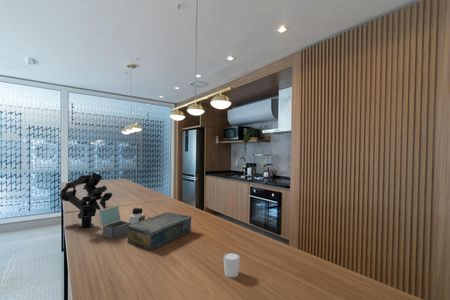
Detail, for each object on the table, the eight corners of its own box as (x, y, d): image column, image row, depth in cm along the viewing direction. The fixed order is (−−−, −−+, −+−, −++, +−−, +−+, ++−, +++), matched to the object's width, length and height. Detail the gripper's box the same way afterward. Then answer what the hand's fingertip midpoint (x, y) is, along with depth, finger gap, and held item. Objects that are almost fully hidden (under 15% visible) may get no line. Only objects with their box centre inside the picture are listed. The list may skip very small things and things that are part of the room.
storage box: (102, 236, 128) (103, 226, 128) (120, 230, 138) (120, 220, 139) (112, 239, 124) (113, 228, 124) (130, 232, 134) (130, 222, 135)
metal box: (192, 232, 137) (192, 216, 137) (152, 251, 109) (152, 231, 109) (168, 226, 148) (168, 211, 148) (125, 242, 120) (125, 224, 120)
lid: (102, 225, 128) (101, 226, 128) (120, 220, 139) (119, 220, 139) (99, 210, 129) (99, 210, 130) (118, 206, 140) (117, 206, 141)
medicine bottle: (138, 228, 143) (139, 209, 143) (129, 227, 144) (129, 209, 144) (144, 224, 150) (145, 207, 150) (135, 223, 151) (135, 206, 151)
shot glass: (222, 269, 92) (222, 252, 92) (238, 268, 93) (238, 252, 93) (224, 278, 86) (224, 260, 86) (241, 277, 86) (241, 260, 86)
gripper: (82, 183, 132) (93, 204, 127) (110, 180, 149) (121, 198, 143) (75, 195, 135) (85, 215, 130) (103, 191, 152) (113, 208, 147)
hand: (102, 209), depth 138 cm, fingers open, 3 cm apart
